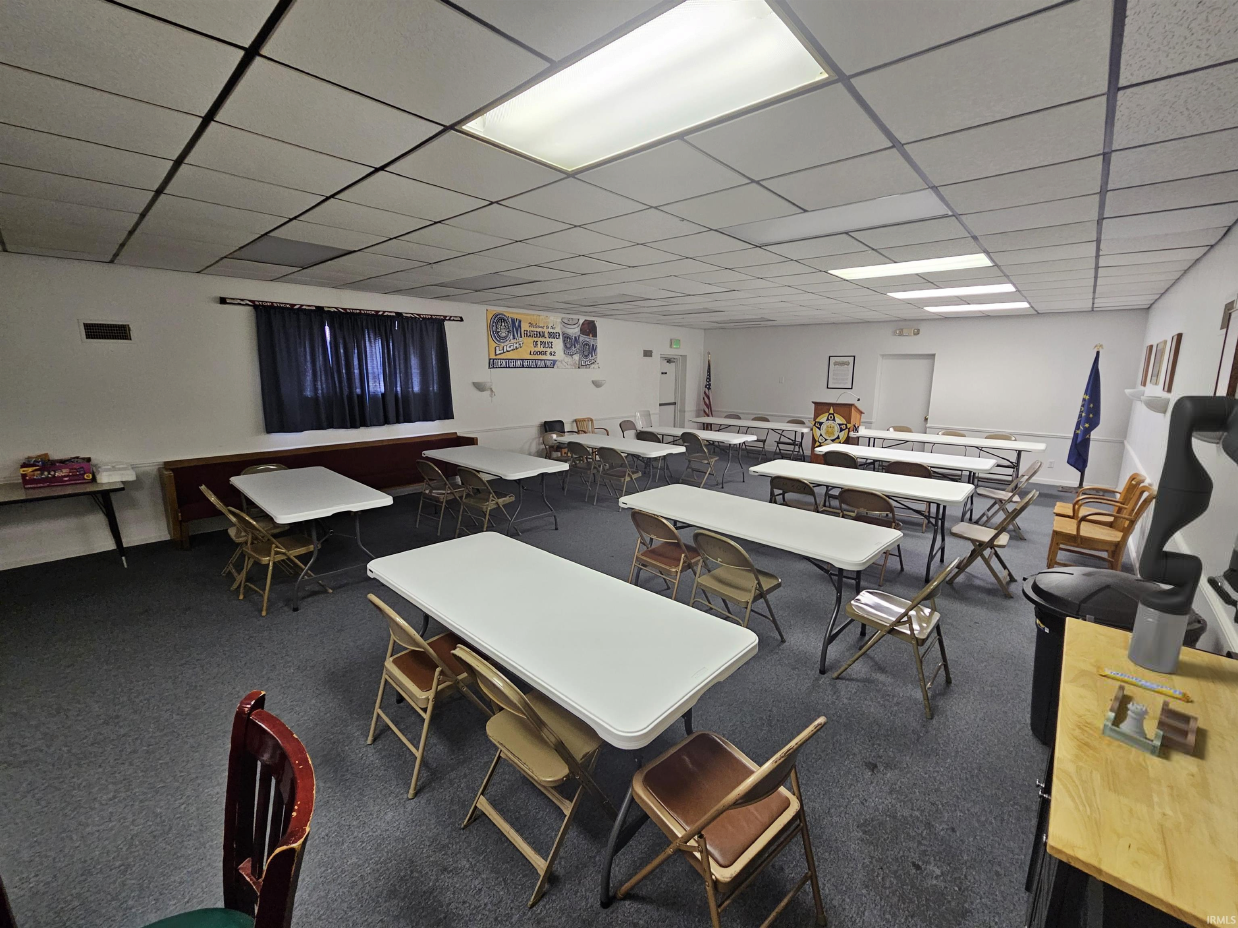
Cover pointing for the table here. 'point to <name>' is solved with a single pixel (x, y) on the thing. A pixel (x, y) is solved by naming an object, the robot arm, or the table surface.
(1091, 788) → the table surface
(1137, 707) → the rook chess piece
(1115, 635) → the table surface
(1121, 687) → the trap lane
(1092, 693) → the table surface
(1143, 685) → the candy bar
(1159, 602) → the robot arm
